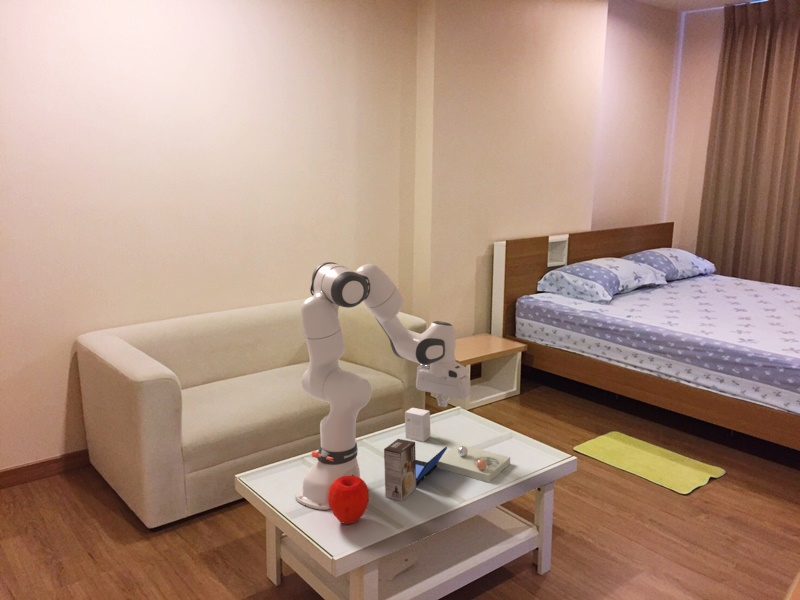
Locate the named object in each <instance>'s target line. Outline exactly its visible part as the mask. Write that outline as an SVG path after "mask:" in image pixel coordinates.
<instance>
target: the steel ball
mask: <svg viewBox="0 0 800 600" xmlns="http://www.w3.org/2000/svg"><path fill="white" fill-rule="evenodd" d="M465 446H466V445H464V446H461V447H459V449H458V454H459V455H460V456H462V457H464V456H466V455H467V454H468V449H467V448H466V447H465Z"/></svg>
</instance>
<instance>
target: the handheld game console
mask: <svg viewBox="0 0 800 600" xmlns="http://www.w3.org/2000/svg"><path fill="white" fill-rule="evenodd" d="M447 449H448V447H447V446H445V447H443V449H442V450H439V452H438V453H437V454H436V455H434V456H433V457H432V458H431V459H430V460H429V461H428V462H427V461H424V460H423V461H422V460H419V459H418V460H417V459H416V487H417V486H418V485H420V484H421V483H422V482H423V481H424V480H425V478H426V477H429V475H430V474H432V473H433V472H434V471H436V470H437V469H438V468H437V463H438V461H439V460H440V458H441V457H442V456H443V455H445V452H446V451H447ZM424 477H425V478H424Z"/></svg>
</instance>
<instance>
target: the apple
mask: <svg viewBox="0 0 800 600" xmlns="http://www.w3.org/2000/svg"><path fill="white" fill-rule="evenodd" d="M369 498H370V493H369V488H368V485H367V483H366V482H365V480H363V479H362V478H359V477H356V476H343V477H340V478H338V479H336V480H335V481H334V482H333V483H332V485H331V487H330V489H329V493H328V503H329V506H330V508H331V509H330V510H331V511H332V513H333V515H334V517H335V518H336V519H337V521H338V522H340V523H342V524H345V525H346V524H354V523H357V522H358V521H359V520H361V518H362V516H363V515H364V514H365V512H366V510H367V508H368V506H369V501H370V499H369Z"/></svg>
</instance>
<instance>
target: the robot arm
mask: <svg viewBox="0 0 800 600" xmlns="http://www.w3.org/2000/svg"><path fill="white" fill-rule="evenodd" d="M309 292H310V294H311V295H312V296H309V297H307V298H306V299H305V300H304V301H303V302H302V304H301V307H300V308H301V309H300V313H301V314H300V316H301V324H302V330H303V335H304V339H305V343H306V347H307V352H308V356H309V363H308V364H309V365H308V368H307V369H305V372H304V373H303V375H302V378H301V385H302V386H301V387H302V389H303V391H304V392H305V393H306V394H307V395H309V396H310V397H313V398H314V399H315V400H319V401H322V402H325V403H328V404H329V406H330V407H329V413H328V414H327V415H326V416H324V417H323V418H322V419H321V420H320V424H319V430H320V431H319V432H320V434H319V436H320V445H319V447H318V451H316V450H313V451H312V452H311V457H312V458H315V459H316V460H315V461H314V463H313V465H312V466H311V468H310V469H309V470H308V472H307V473H306V475H305V476H304V478H303V481H302V489H300V490H299V491H298V492H297V493H296V494H294V495H295V497H294V498H296V499H295V500H296V501H297V502H298V503H299V504H301V505H303V506H305V505H306V507H309V508H312V509H314V510H321V511H322V510H323V511H324V510H325V511H327V510H331V508H330V506H329V503H328V493H329V489H330V487H331V485H332V483H333V482H334V481H335V480H336V479H338V478H340V477H343V476H356V477H359V478H361V471H360V465H359V463H358V459H357V456H358V443H357V441H356V440H357V439H356V422H357V418H358V414H359V412H360V410H362V409H363V408H364V407H366V406H367V404H369V402H370V399H371V397H372V385H371V383H370V381H369V380H368V379H366V378H365V377H363V376H362V375H360V374H358V373H356V372H351V371H348V370H344V369H342V368H341V367H340V365H339V360H340V359H341V357H343V355H344V354H345V353H346V346H345V345H346V344H345V341H344V336H343V332H342V327H341V324H340V320H339V307H342V308H347V309H348V308H349V309H350V308H354V307H357V306H359V305H360V304H362V302H363V303H364V305H365V306H366V307H367V309H368V310H369V311H370V313H372V315H373V316H374V318H375V320H376V321H377V323H378V324H379V326H380V327H381V328H382V330H383V332H384V333H385V335H386V336H387V338H388V340H389V343H390V347H391V351H392V352H393V354H394V356H396V357H398V358H400V359H405V360H409V361H410V362H414V363H417V364H419V365H418V366H417V367H416V380H415V387H416V389H417V390H418V391H422V392H427V393H431V394H434V397H435V399H436V401H437V406H438V407H443V408H447V407H448V402H449V401H450V399H451V398H456V399H461V400H466V399H467V398H469V397H470V395H471V394H472V393H471V391H472V390H471V386H472V385H471V380H470V378H469V376H468V375H469V373H470V371H469V368H468V367H466V366H464V365H463V364H460V363H459V362H458V361H456V355H455V350H456V332H455V331H456V330H455V327H454V325H452V323H449V322H446V321H442V320H441V321H439V320H436V321H435V320H434V321H432V322H431V324H430V326H429V327H428V328H427V329H426V330H424V331H423V332H421V333H419V332H416V331H413V330H411V329H408V328H407V327H405V326H404V325H403V323H402V322H401V320H400V319H399V318H398V316H397V315H398V314H399V313H400V311H401V310H402V308H403V305H404V299H403V296H402V294H401V292H400V290H399V289H398V287H397V286H396V285H395V283H394V281H392V279H391V278H390V277H389V276H388V275H387V274H386V273H385V271H383V270H382V269H381V268H380V267H379V266H378V265H377V264H374V263H366V264H362V265H361V266H359V267H358V268H357V269H356V270H352V269H350V268H349V267H347V266H344V265H341V264H338V263H336V262H330V261H329V262H324V263H323V262H322V263H319V265H317V267H316V268H315V269H314V270H313V273H312V276H311V285H310V288H309ZM441 395H442V396H443V398H444V399H442V397H441ZM361 479H362V478H361Z"/></svg>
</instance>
